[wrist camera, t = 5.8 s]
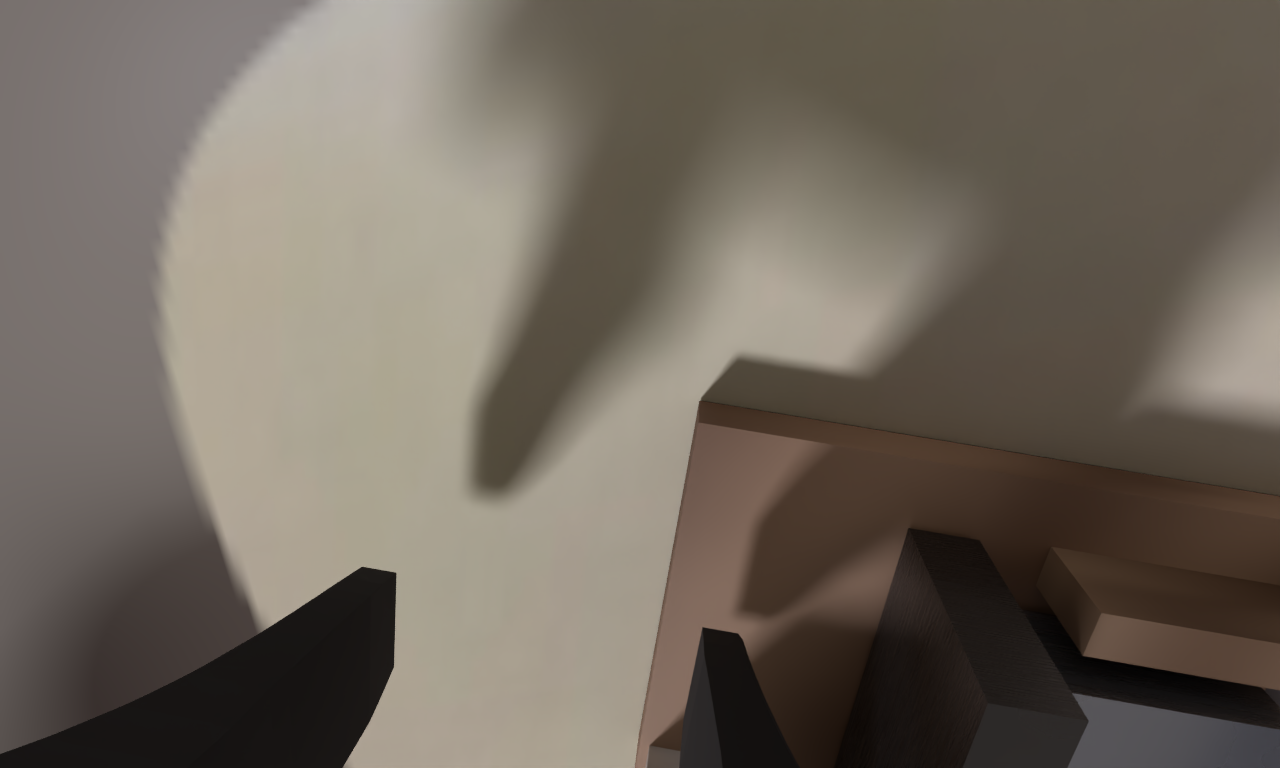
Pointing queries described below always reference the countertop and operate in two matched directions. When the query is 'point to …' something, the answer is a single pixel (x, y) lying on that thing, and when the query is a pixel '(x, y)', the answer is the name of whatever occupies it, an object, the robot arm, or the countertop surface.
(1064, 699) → the dark grey angled block
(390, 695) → the countertop surface
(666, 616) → the miniature room diorama
